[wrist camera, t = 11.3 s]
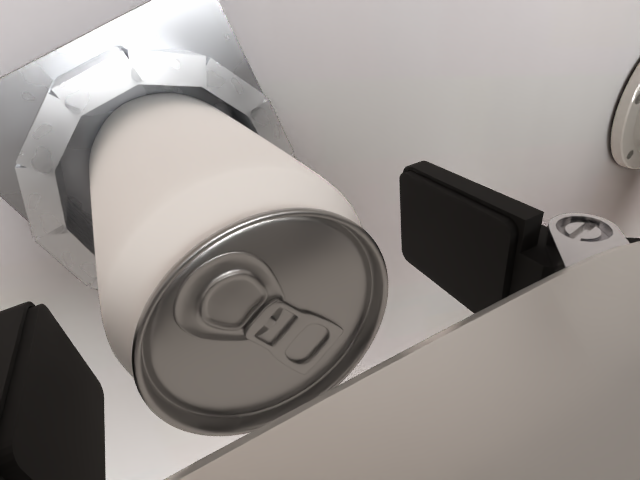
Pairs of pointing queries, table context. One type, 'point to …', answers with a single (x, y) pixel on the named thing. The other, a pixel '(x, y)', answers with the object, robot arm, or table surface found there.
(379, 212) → the table surface
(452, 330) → the robot arm
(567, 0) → the table surface
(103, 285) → the can
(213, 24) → the duct collar
